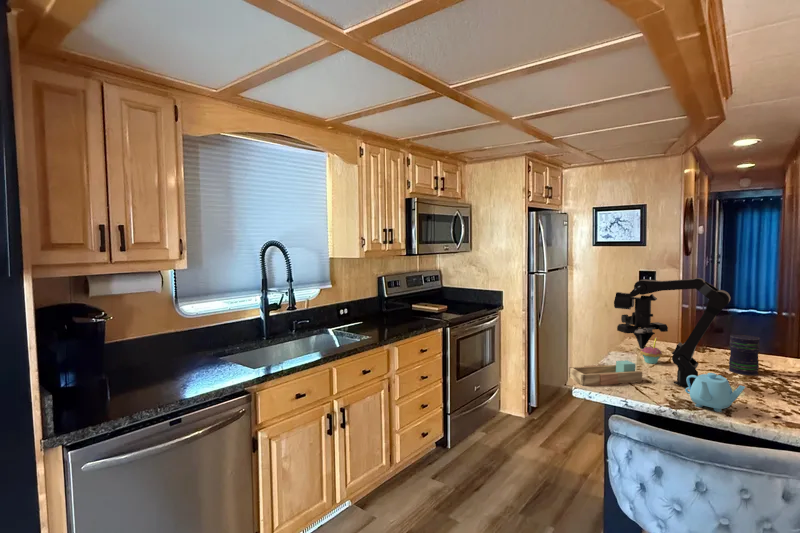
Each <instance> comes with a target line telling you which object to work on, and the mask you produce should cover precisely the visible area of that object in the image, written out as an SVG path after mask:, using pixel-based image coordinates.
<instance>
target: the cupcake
mask: <svg viewBox="0 0 800 533" xmlns="http://www.w3.org/2000/svg"><path fill="white" fill-rule="evenodd" d="M657 338H658V337H655V338H654V341H653V346H645V347H644V349H640V352H639V354H640V355H642V357H643V359H644V362H645V363H646V364H652V365H654V364H658V361H659V359H660V358H661V357H662V356H663V352H662V351H661V350H660V349H659V348H658V347H656V342H657Z"/></svg>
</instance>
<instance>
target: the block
mask: <svg viewBox="0 0 800 533" xmlns="http://www.w3.org/2000/svg"><path fill="white" fill-rule="evenodd" d="M615 365H616V372H631V371H636V363H634V362H632V361H629V360H615Z"/></svg>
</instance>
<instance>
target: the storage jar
mask: <svg viewBox="0 0 800 533" xmlns="http://www.w3.org/2000/svg"><path fill="white" fill-rule="evenodd" d="M729 338H730V339H729V340H730V341H729V349H730V350H729V351H730V353H729V355H730V356H729V359H728V360H729V361H728V370H729V372H731V373H734V374H738V375H743V376H757V375H759V369H760V368H759V367H760V366H759V364H760V362H759V352H760V347H761V346H760V343H761V342H760V337H758V336H754V335H750V334H741V333H740V334H738V333H735V334H730V337H729Z"/></svg>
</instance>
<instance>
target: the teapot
mask: <svg viewBox="0 0 800 533" xmlns="http://www.w3.org/2000/svg"><path fill="white" fill-rule="evenodd" d="M691 377H694V378H696V379H695V381H694V382H693V384H692V386H691V384H690V381H689V379H690V378H691ZM686 381H687V384H688V387H687V388H685V389H684V391H685V393H687V394H689V397H690V400H691V401H692V402H693V403H694V406H695V407H697V408H703V407H709V408H713V411H714V412H717V413H723V409H727V408H729V407H731V406H732V404H733V402H736V401H737V399H738V397H740V395H741V393H742V392H743V391H744V390H745V388H746V386H744V385H738V387H737V388H735V390H733V389H732V386H731V385H730V383H729V380H728V379H727V378H726V377H724V376H723V375H720V374H719V375H718V373H717V374H716V373H714V372H708V373H703V374H698V376H696V375H690V376H688V377H687V379H686Z"/></svg>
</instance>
